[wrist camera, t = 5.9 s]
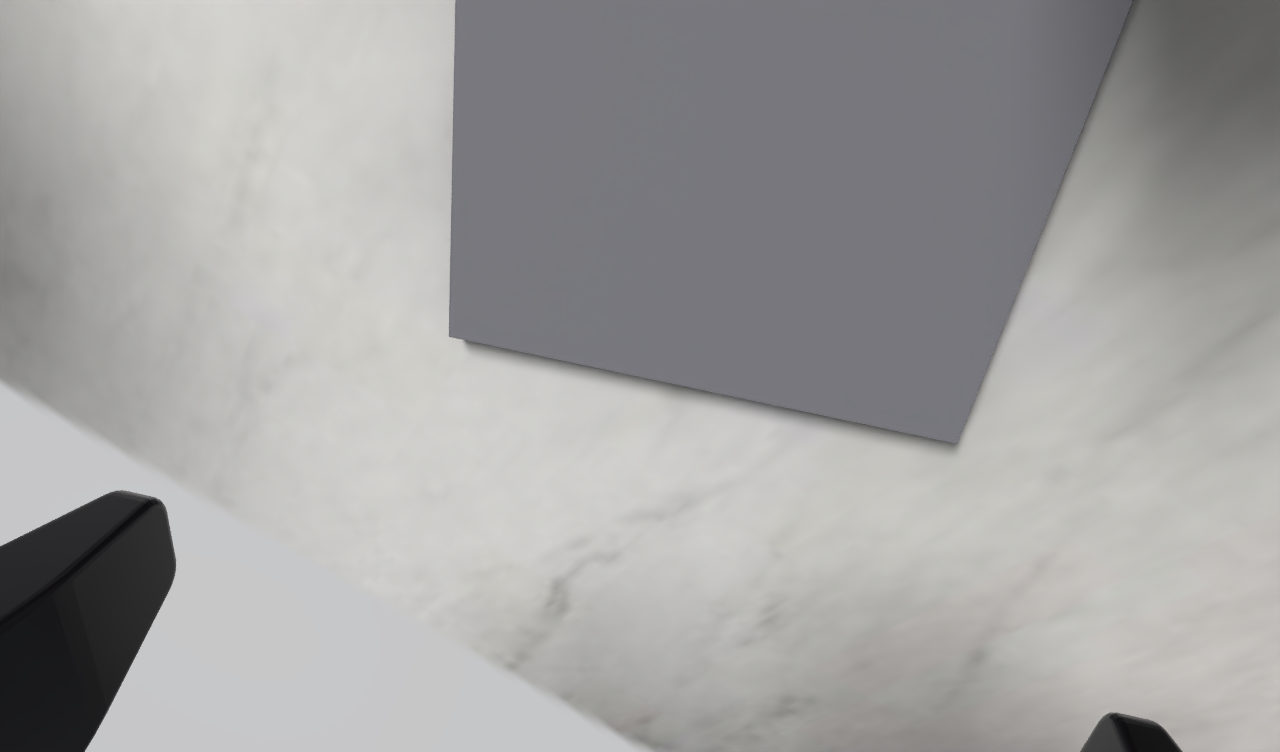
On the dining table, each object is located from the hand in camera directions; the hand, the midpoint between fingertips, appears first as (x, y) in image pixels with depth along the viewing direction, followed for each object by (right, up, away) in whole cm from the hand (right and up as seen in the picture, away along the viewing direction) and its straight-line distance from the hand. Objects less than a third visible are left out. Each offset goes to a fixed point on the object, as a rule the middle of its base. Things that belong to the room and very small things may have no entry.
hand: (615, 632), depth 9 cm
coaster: (+2, +7, +10) cm, 12 cm away
